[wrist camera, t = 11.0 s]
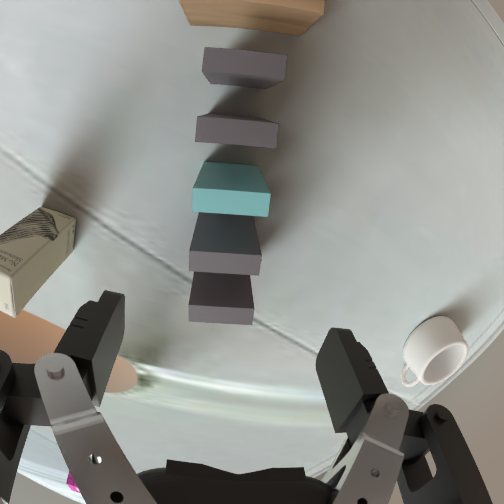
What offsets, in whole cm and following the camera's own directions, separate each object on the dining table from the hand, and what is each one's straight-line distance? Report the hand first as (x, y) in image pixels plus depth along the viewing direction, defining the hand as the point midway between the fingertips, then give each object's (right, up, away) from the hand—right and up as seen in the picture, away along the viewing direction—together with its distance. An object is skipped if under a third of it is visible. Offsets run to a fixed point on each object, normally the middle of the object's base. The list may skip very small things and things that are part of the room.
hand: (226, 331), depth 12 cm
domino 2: (-1, +15, +16) cm, 22 cm away
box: (-21, +6, +19) cm, 29 cm away
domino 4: (-2, +6, +20) cm, 21 cm away
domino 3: (-1, +10, +18) cm, 21 cm away
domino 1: (0, +19, +14) cm, 23 cm away
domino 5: (-2, +2, +21) cm, 22 cm away
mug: (+27, -11, +31) cm, 43 cm away
